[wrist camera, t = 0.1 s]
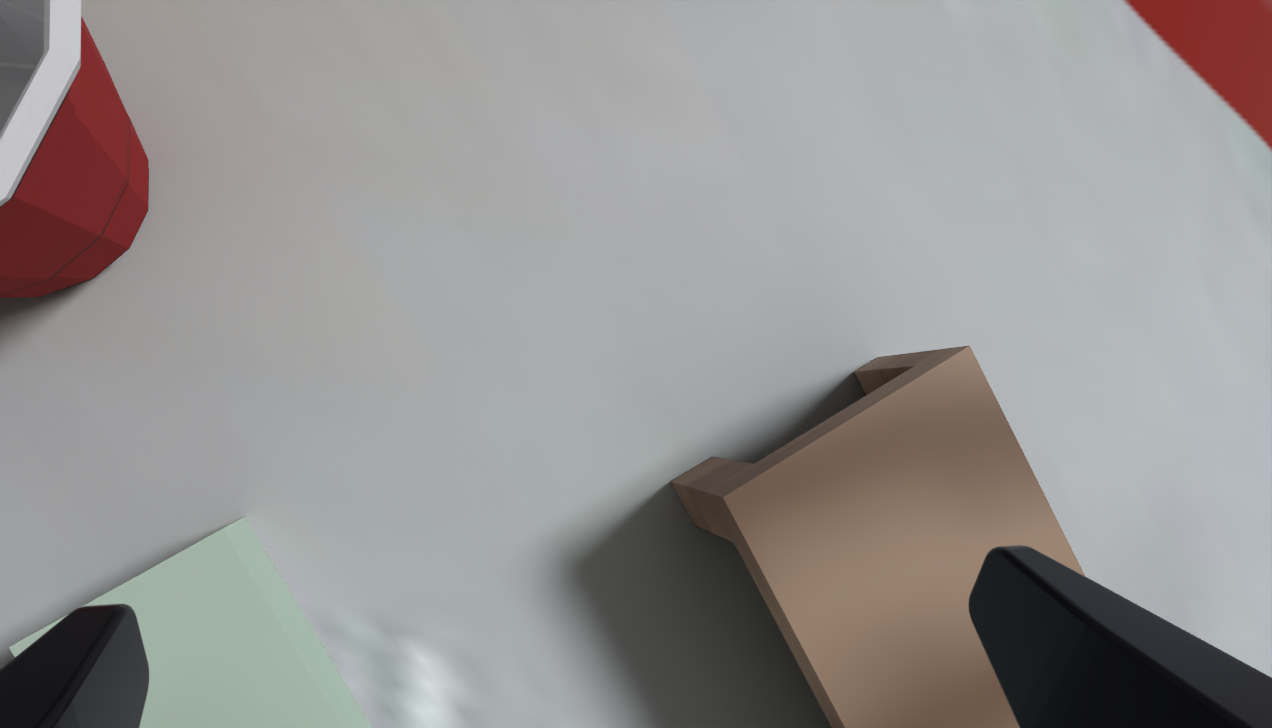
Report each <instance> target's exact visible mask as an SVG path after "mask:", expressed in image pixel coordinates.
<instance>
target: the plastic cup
mask: <svg viewBox="0 0 1272 728" xmlns="http://www.w3.org/2000/svg"><path fill="white" fill-rule="evenodd" d="M81 2H82V0H0V298H9V297H40V296H43V295H46V294H49V293H52V292H55V291H57V290H60V289H63V288H66V287H69V286H72V285H75V284H78V283H81V282H84V281H87V280H89V279H91V278H94V277H96V276H97V275H98V274H99V273H101V272H102V271H103V270H104V269H105V268H107V267H108V266H109V265H110V264H111V263H112V262H114V261H115V260H116V259H117V258H118V257H120V256H121V255H122V254H123V253H124V252H126V251H127V250H128V249H129V248H130V246H131V244H132V242H133V240H134V238H135V236H136V234H137V232H138V230H139V228H140V226H141V224H142V222H143V220H144V218H145V216H146V214H147V212H148V186H149V168H148V158H147V156H146V154H145V152H144V149H143V147H142V145H141V143H140V140H139V138H138V136H137V134H136V131H135V129H134V127H133V124H132V122H131V120H130V118H129V116H128V114H127V112H126V110H125V108H124V106H123V104H122V101H121V99H120V97H119V94H118V92H117V90H116V88H115V85H114V83H113V81H112V79H111V76H110V74H109V72H108V70H107V67H106V65H105V63H104V61H103V59H102V57H101V55H100V53H99V51H98V49H97V47H96V45H95V43H94V41H93V39H92V37H91V35H90V33H89V30H88V28H87V26H86V24H85V22H84V20H83V18H82V16H81Z"/></svg>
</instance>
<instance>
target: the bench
mask: <svg viewBox="0 0 1272 728" xmlns="http://www.w3.org/2000/svg"><path fill="white" fill-rule="evenodd" d="M854 373H855V375H856V376H857V378H858V380H859V382H860V384H861V386H862V388H863V390H864V392H865V394H866V396H865V397H863V398H861V399H860V400H858V401H856V402H855V403H853V404H852V405H850V406H848V407H847V408H845V409H843V410H842V411H840V412H838V413H837V414H835V415H833V416H832V417H830V418H829V419H827V420H825V421H824V422H822V423H820V424H819V425H817V426H815V427H814V428H812V429H811V430H809V431H807V432H806V433H804V434H802V435H801V436H799V437H797V438H796V439H794V440H792V441H791V442H789V443H788V444H786V445H784V446H783V447H781V448H779V449H778V450H776V451H774V452H773V453H771V454H770V455H768V456H766V457H765V458H763V459H761V460H760V461H758V462H756V463H755V464H753V463H747V462H741V461H735V460H729V459H723V458H717V457H711V458H709V459H707V460H706V461H704V462H702V463H701V464H699V465H697V466H696V467H694V468H692V469H691V470H689V471H687V472H686V473H684V474H682V475H681V476H679V477H677V478H675V479H674V480H672V481H671V483H672V485H673V487H674V489H675V490H676V492H677V494H678V496H679V498H680V500H681V502H682V504H683V505H684V507H685V509H686V511H687V513H688V515H689V517H690V519H691V520H692V522H693V524H694V525H695V526H698V527H700V528H702V529H704V530H707V531H709V532H711V533H713V534H715V535H718V536H720V537H722V538H724V539H726V540H729V541H731V542H733V543H734V544H735V546H736V548H737V550H738V552H739V554H740V555H741V557H742V559H743V561H744V563H745V565H746V567H747V569H748V570H749V572H750V574H751V576H752V578H753V580H754V582H755V584H756V586H757V587H758V589H759V591H760V593H761V595H762V597H763V599H764V601H765V602H766V604H767V606H768V608H769V610H770V612H771V614H772V616H773V618H774V619H775V621H776V623H777V625H778V627H779V629H780V631H781V633H782V635H783V636H784V638H785V640H786V642H787V644H788V646H789V648H790V650H791V651H792V653H793V655H794V657H795V659H796V661H797V663H798V665H799V667H800V668H801V670H802V672H803V674H804V676H805V678H806V680H807V682H808V683H809V685H810V687H811V689H812V691H813V693H814V695H815V697H816V699H817V700H818V702H819V704H820V706H821V708H822V710H823V712H824V714H825V716H826V717H827V719H828V721H829V723H830V725H831V727H832V728H1020V727H1019V725H1018V723H1017V721H1016V719H1015V717H1014V714H1013V712H1012V710H1011V708H1010V705H1009V703H1008V701H1007V699H1006V697H1005V694H1004V692H1003V690H1002V688H1001V685H1000V683H999V681H998V679H997V677H996V674H995V672H994V670H993V668H992V665H991V663H990V661H989V659H988V656H987V654H986V652H985V650H984V648H983V645H982V643H981V641H980V639H979V636H978V634H977V632H976V630H975V627H974V625H973V623H972V621H971V618H970V614H969V607H968V603H969V597H970V594H971V591H972V589H973V586H974V584H975V581H976V579H977V576H978V574H979V571H980V569H981V567H982V564H983V562H984V559H985V557H986V555H987V553H988V552H989V551H990V550H991V549H992V548H995V547H999V546H1013V545H1024V546H1029V547H1031V548H1033V549H1035V550H1037V551H1039V552H1041V553H1042V554H1044V555H1046V556H1048V557H1050V558H1052V559H1054V560H1055V561H1057V562H1059V563H1061V564H1063V565H1065V566H1066V567H1068V568H1070V569H1072V570H1074V571H1076V572H1077V573H1079V574H1081V575H1083V576H1085V575H1084V573H1083V571H1082V569H1081V567H1080V565H1079V563H1078V561H1077V559H1076V557H1075V555H1074V553H1073V551H1072V549H1071V547H1070V545H1069V543H1068V541H1067V539H1066V537H1065V535H1064V533H1063V531H1062V529H1061V527H1060V525H1059V523H1058V521H1057V519H1056V517H1055V515H1054V513H1053V511H1052V509H1051V507H1050V505H1049V503H1048V501H1047V499H1046V497H1045V495H1044V493H1043V491H1042V489H1041V487H1040V485H1039V483H1038V481H1037V479H1036V477H1035V475H1034V473H1033V471H1032V469H1031V467H1030V465H1029V463H1028V461H1027V459H1026V457H1025V455H1024V453H1023V451H1022V449H1021V447H1020V445H1019V443H1018V441H1017V439H1016V437H1015V435H1014V433H1013V431H1012V429H1011V427H1010V425H1009V423H1008V421H1007V419H1006V417H1005V415H1004V413H1003V411H1002V409H1001V407H1000V405H999V403H998V401H997V399H996V398H995V396H994V394H993V392H992V390H991V388H990V386H989V384H988V382H987V380H986V378H985V376H984V374H983V372H982V370H981V368H980V366H979V364H978V362H977V360H976V358H975V356H974V354H973V352H972V350H971V348H970V346H964V347H956V348H948V349H940V350H932V351H924V352H916V353H908V354H900V355H892V356H884V357H878V358H876V359H875V360H873V361H871V362H869V363H868V364H866V365H864V366H863V367H861V368H859V369H858V370H856V371H854Z"/></svg>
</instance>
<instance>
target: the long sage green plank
mask: <svg viewBox="0 0 1272 728" xmlns="http://www.w3.org/2000/svg"><path fill="white" fill-rule="evenodd" d="M108 604H126V605H129V606H131V607H132V609H133V610H134V612H135V614H136V617H137V621H138V625H139V628H140V632H141V636H142V640H143V644H144V648H145V652H146V656H147V660H148V665H149V687H148V693H147V697H146V702H145V706H144V710H143V714H142V718H141V722H140V727H139V728H372V726H371V724H370V723H369V721H368V719H367V718H366V716H365V714H364V713H363V711H362V709H361V708H360V706H359V704H358V703H357V701H356V700H355V698H354V696H353V695H352V693H351V691H350V690H349V688H348V686H347V685H346V683H345V681H344V680H343V678H342V676H341V675H340V673H339V671H338V670H337V668H336V666H335V665H334V663H333V661H332V660H331V658H330V656H329V655H328V653H327V651H326V650H325V648H324V646H323V645H322V643H321V641H320V640H319V638H318V636H317V635H316V633H315V631H314V630H313V628H312V626H311V625H310V623H309V621H308V620H307V618H306V617H305V615H304V613H303V612H302V610H301V608H300V607H299V605H298V603H297V602H296V600H295V598H294V597H293V595H292V593H291V592H290V590H289V588H288V587H287V585H286V583H285V582H284V580H283V578H282V577H281V575H280V573H279V572H278V570H277V568H276V567H275V565H274V563H273V562H272V560H271V558H270V557H269V555H268V553H267V552H266V550H265V548H264V547H263V545H262V543H261V542H260V540H259V538H258V537H257V535H256V534H255V532H254V530H253V529H252V527H251V525H250V524H249V522H248V520H247V519H246V517H244V518H242V519H240V520H238V521H236V522H234V523H232V524H230V525H228V526H226V527H224V528H223V529H221V530H219V531H217V532H215V533H214V534H212V535H210V536H208V537H206V538H205V539H203V540H201V541H199V542H197V543H196V544H194V545H192V546H190V547H188V548H187V549H185V550H183V551H181V552H179V553H178V554H176V555H174V556H172V557H170V558H169V559H167V560H165V561H163V562H161V563H160V564H158V565H156V566H154V567H152V568H151V569H149V570H147V571H145V572H143V573H142V574H140V575H138V576H136V577H134V578H132V579H131V580H129V581H127V582H125V583H123V584H122V585H120V586H118V587H116V588H114V589H113V590H111V591H109V592H107V593H105V594H104V595H102V596H100V597H98V598H96V599H95V600H93V601H91V602H89V603H87V604H86V605H84V606H92V605H108ZM84 606H82V607H84ZM69 614H70V613H69ZM66 616H67V615H66ZM66 616H64V617H62V618H60V619H59V620H57V621H55V622H53V623H51V624H50V625H48V626H46V627H44V628H42V629H41V630H39V631H37V632H35V633H33V634H32V635H30V636H28V637H26V638H24V639H23V640H21V641H19V642H17V643H15V644H14V645H12V646H10V647H9V649H10V650H11V652H12V654H13V655H14V657H16V656H17V655H19V654H20V653H21V652H22V651H24V650H25V649H26V648H27V647H29V646H30V645H31V644H32V643H34V642H35V641H36V640H37V639H38V638H40V637H41V636H42V635H43V634H45V633H46V632H47V631H48V630H50V629H51V628H52V627H53V626H55V625H56V624H57V623H58V622H60V621H61V620H62V619H63V618H65V617H66Z"/></svg>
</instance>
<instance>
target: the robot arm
mask: <svg viewBox="0 0 1272 728" xmlns="http://www.w3.org/2000/svg"><path fill="white" fill-rule="evenodd" d="M968 607H969V614H970V618H971V621H972V623H973V625H974V627H975V630H976V632H977V634H978V636H979V639H980V641H981V643H982V645H983V648H984V650H985V652H986V654H987V656H988V659H989V661H990V663H991V665H992V668H993V670H994V672H995V674H996V677H997V679H998V681H999V683H1000V685H1001V688H1002V690H1003V692H1004V694H1005V697H1006V699H1007V701H1008V703H1009V705H1010V708H1011V710H1012V712H1013V714H1014V717H1015V719H1016V721H1017V723H1018V725H1019V727H1020V728H1272V678H1271V677H1269V676H1267V675H1266V674H1264V673H1262V672H1260V671H1258V670H1256V669H1255V668H1253V667H1251V666H1249V665H1247V664H1245V663H1243V662H1242V661H1240V660H1238V659H1236V658H1234V657H1232V656H1231V655H1229V654H1227V653H1225V652H1223V651H1221V650H1220V649H1218V648H1216V647H1214V646H1212V645H1210V644H1208V643H1207V642H1205V641H1203V640H1201V639H1199V638H1197V637H1196V636H1194V635H1192V634H1190V633H1188V632H1186V631H1184V630H1183V629H1181V628H1179V627H1177V626H1175V625H1173V624H1172V623H1170V622H1168V621H1166V620H1164V619H1162V618H1160V617H1159V616H1157V615H1155V614H1153V613H1151V612H1149V611H1148V610H1146V609H1144V608H1142V607H1140V606H1138V605H1137V604H1135V603H1133V602H1131V601H1129V600H1127V599H1125V598H1124V597H1122V596H1120V595H1118V594H1116V593H1114V592H1113V591H1111V590H1109V589H1107V588H1105V587H1103V586H1101V585H1100V584H1098V583H1096V582H1094V581H1092V580H1090V579H1089V578H1087V577H1085V576H1083V575H1081V574H1079V573H1077V572H1076V571H1074V570H1072V569H1070V568H1068V567H1066V566H1065V565H1063V564H1061V563H1059V562H1057V561H1055V560H1054V559H1052V558H1050V557H1048V556H1046V555H1044V554H1042V553H1041V552H1039V551H1037V550H1035V549H1033V548H1031V547H1029V546H1024V545H1013V546H999V547H995V548H992V549H991V550H990V551H989V552H988V553H987V555H986V557H985V559H984V562H983V564H982V567H981V569H980V571H979V574H978V576H977V579H976V581H975V584H974V586H973V589H972V591H971V594H970V597H969V603H968ZM148 687H149V665H148V660H147V656H146V652H145V648H144V644H143V640H142V636H141V632H140V628H139V625H138V621H137V617H136V614H135V612H134V610H133V609H132V607H131V606H129V605H126V604H108V605H92V606H84V607H80V608H78V609H76V610H74V611H72V612H71V613H70V614H68V615H67V616H66V617H65V618H63V619H62V620H61V621H60V622H58V623H57V624H56V625H55V626H53V627H52V628H51V629H50V630H48V631H47V632H46V633H45V634H43V635H42V636H41V637H40V638H38V639H37V640H36V641H35V642H34V643H32V644H31V645H30V646H29V647H27V648H26V649H25V650H24V651H22V652H21V653H20V654H19V655H17V656H16V657H15V658H14V659H12V660H11V661H10V662H9V663H7V664H6V665H5V666H4V667H2V668H1V669H0V728H139V727H140V722H141V718H142V714H143V710H144V706H145V702H146V697H147V693H148Z"/></svg>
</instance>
